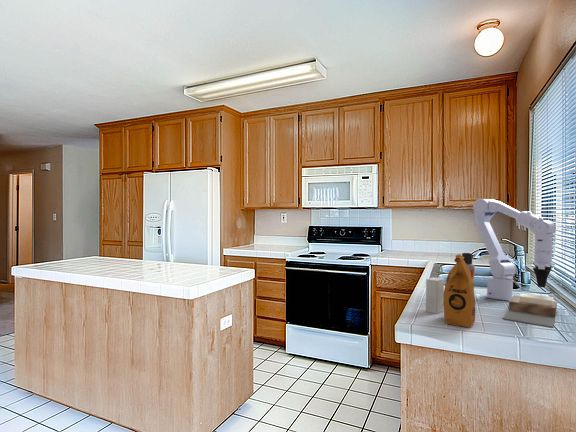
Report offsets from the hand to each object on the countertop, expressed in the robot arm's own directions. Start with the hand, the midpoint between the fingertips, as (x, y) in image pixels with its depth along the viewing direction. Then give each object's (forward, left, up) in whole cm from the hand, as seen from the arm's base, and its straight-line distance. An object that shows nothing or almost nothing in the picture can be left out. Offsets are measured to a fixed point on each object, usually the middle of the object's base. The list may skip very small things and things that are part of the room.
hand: (541, 285), depth 143 cm
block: (-1, -10, -5) cm, 11 cm away
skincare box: (-30, -36, -9) cm, 48 cm away
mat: (-2, -23, -8) cm, 25 cm away
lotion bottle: (-25, -10, -9) cm, 28 cm away
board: (-2, -9, -8) cm, 13 cm away
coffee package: (-20, -44, -9) cm, 49 cm away
